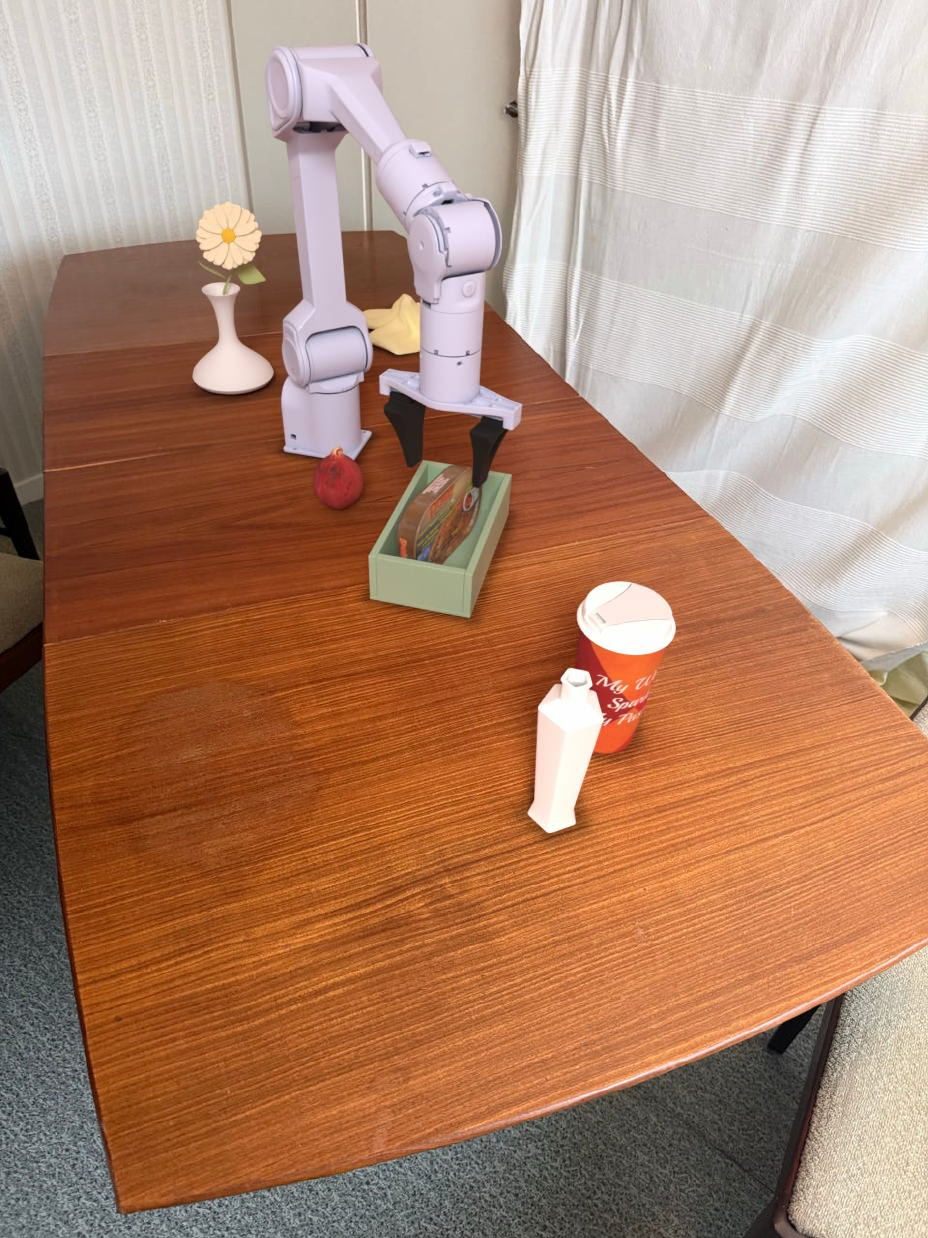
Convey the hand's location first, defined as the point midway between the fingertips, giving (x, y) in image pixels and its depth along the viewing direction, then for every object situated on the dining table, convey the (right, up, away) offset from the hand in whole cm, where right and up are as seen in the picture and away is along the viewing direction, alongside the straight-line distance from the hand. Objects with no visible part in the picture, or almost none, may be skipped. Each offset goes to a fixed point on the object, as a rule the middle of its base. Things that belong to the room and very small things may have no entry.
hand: (446, 472), depth 85 cm
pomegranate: (-13, -2, +12) cm, 18 cm away
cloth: (-8, +34, +54) cm, 64 cm away
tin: (-1, -8, +6) cm, 10 cm away
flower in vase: (-31, +19, +35) cm, 51 cm away
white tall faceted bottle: (+9, -31, -19) cm, 37 cm away
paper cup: (+14, -25, -12) cm, 31 cm away
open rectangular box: (0, -8, +6) cm, 10 cm away
